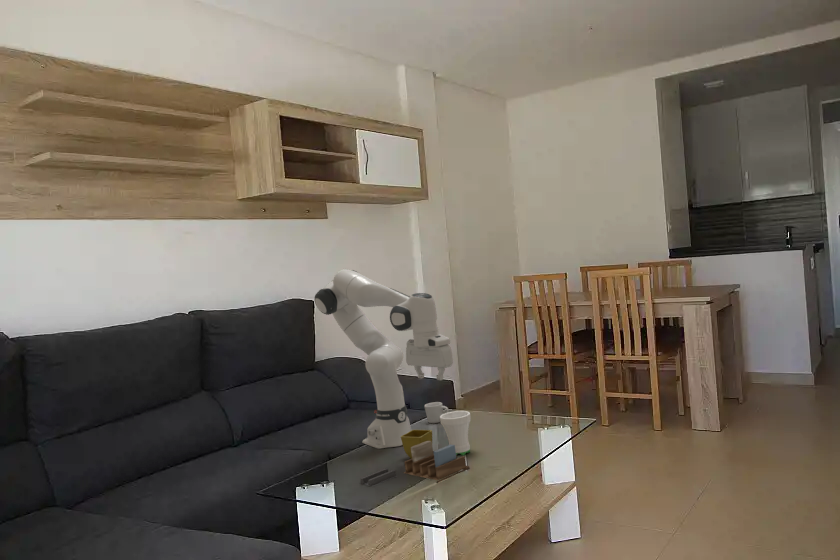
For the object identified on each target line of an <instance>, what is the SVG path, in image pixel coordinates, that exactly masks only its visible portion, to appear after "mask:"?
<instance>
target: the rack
mask: <svg viewBox="0 0 840 560" xmlns="http://www.w3.org/2000/svg"><path fill="white" fill-rule="evenodd" d="M433 451H434V449H433V440H432V441H426V442H423V443H420V444H418V445H415V446H413V447H411V453H412V459H411V458H409V459H408V460H404V462H403V463H404V470H405V471H404V472H402V473H403V474H406V475H409V476H415V477H421V478H425V479H428V480H434V481H436V483H437V484H438V483H441V482H442V481H444V480H445V481H446V480H447V479H449V478H451V477H454V476H456V475H458V474H461V473H462V472H465V471H467V470H470V466H469V465H467V462H466V461H467V460H466V455H461V456H460V457H458V454H457V455H456V458H457V459H454V460H452V461H450V462H447V463H445V464H443V465H440V466H438V467H435V459H434V452H433Z"/></svg>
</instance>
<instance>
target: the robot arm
mask: <svg viewBox="0 0 840 560" xmlns="http://www.w3.org/2000/svg"><path fill="white" fill-rule="evenodd" d="M313 301H314V304H315V306H316V308H317V309H318V311H320V312H321V313H322V314H324V315H326V316H327V315H328V316H330V315H332V316H333V317H334V320H335V321H336V323H337V324H338V326H339V328H340V329H341V331H343V333H344V334H345V335H346V336H347V337H348V340H350V341H351V342H352V343H353V345H354V346H355V348H357V349H359V350H361V351H363V353H365V354H366V355H367V358H366V360H365V364H364V365H365V369H366V372H367V373H368V374H369V376H370V379H371V382H372V385H373V388H374V393H375V398H376V406H377V409H375V410H374V413H373V414H376V415H375V419H374V420H373V421H372V422H371V423H370V425H368V427H367V432H366V433H367V437H366V438H365V439H363V440H362V444H364V445H367V446H370V447H373V448H375V449H377V450H378V449H384V448H385V449H386V448H393V447H400V446H403V444H402V440H401V436H402V435H404V434H406V433H408V432H410V431H412V427H411V423H410V419H409V417H408V409H407V405H406V404H405V395H404V390H403V389H404V388H403V385H402V383H401V382H400V379H399V377H398V373H397V370H398V368H399V367H400V366H401V365H402V362H403V359H404V352H403V350H402V348H401V347H400V346H398V345H397V344H395V343H394V342H393V341H392V340H390V339H389V337H387V336H386V335H385V334H383V333H382V332H381V331H380V329H378V328H377V327H376V326H375V325H374V323H373V322H372V321H371V320H370V318H369V317H368V316H367V315H366V314H365V313H364V312H363V310H361V308H360V307H362V308H373V307H374V308H375V307H390V308H391V309H390V311H389V312H390V313H389V321H390V324H391V326H392V327H393V329H395V330H396V331H399V332H407V331H411V330H412V337H413V339H412V338H410V339H408V341H407V342H406V347H405V361H406V364H407V365H408V366H414V371H415V372H416V374H417V378H418V379H421V380H422V379H424V378H425V373H424V372H423V370H422V367H426V368H427V367H428V368H437V371H438V373H437V374H436V375H435V377H436V380H437V381H443V380H444V373H445V370H446V368H450V367H452V365H453V363H454V361H453V360H454V359H453V352H452V348H451V346H450V343H451V339H450V337H448V336H446V335H444V334H442V333H440V332H439V327H438V325H437V319H438V317H437V316H438V315H437V307H436V303H435V300H434V297H433V296H432V295H431V294H429V293H426V292H425V293H424V292H415V293H413V294H411V295H409V294H408V295H407V294H406V293H403V292H401V291H398V290H396V289H394V288H392V287H388V286H387V285H385V284H382V283H379V282H377V281H375V280H374V279H371V278H369V277H367V275H366V276H365V275H364V274H362V273H360V272H359V271H357V270H354V269H348V268H347V269H346V268H343V269H341V270H338V272H336V273H335V275H334V277H333V279H332V280H331V281H330V282H329V283H328V284H326V285H324V287H323V288H320V289H319V290H318V291H317V292H316V293H315V295H314V300H313Z"/></svg>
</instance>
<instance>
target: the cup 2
mask: <svg viewBox="0 0 840 560" xmlns="http://www.w3.org/2000/svg"><path fill="white" fill-rule="evenodd" d="M471 417H472V416H471V413H470V411H466V410H455V411H449V412H448V413H447V412H445V413H444V414H442V415H441V416H440V421H441V422H440V424H441V425H442V427H443V429H444V431H445V434H446V436H447V439H448V440H447V441H448V445H450V444H451V445H455V451H456V455H457V456H458V454H460V455H461V456H466V454H468V453H471V446H470V442H469V426H470V423H471V420H472V418H471Z"/></svg>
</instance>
